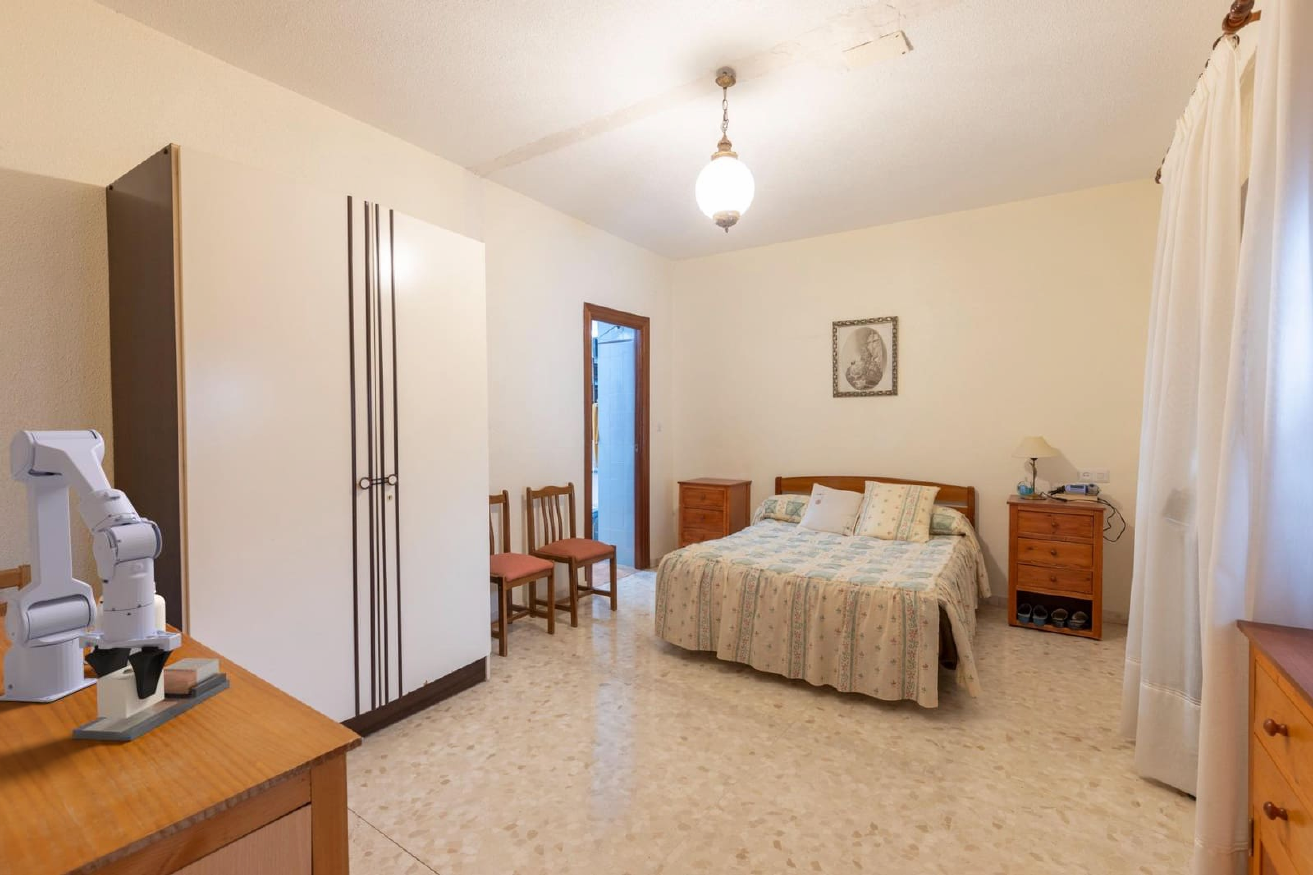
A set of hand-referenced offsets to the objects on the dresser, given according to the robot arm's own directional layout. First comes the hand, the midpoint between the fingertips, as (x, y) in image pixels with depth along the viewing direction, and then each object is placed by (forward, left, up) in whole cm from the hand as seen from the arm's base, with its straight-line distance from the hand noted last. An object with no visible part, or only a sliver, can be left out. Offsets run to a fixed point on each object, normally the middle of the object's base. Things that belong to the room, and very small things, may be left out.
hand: (131, 695), depth 89 cm
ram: (0, +10, -3) cm, 10 cm away
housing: (0, 0, -2) cm, 2 cm away
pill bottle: (-21, +21, -4) cm, 30 cm away
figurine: (-30, +23, -4) cm, 38 cm away
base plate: (0, +4, -4) cm, 6 cm away
